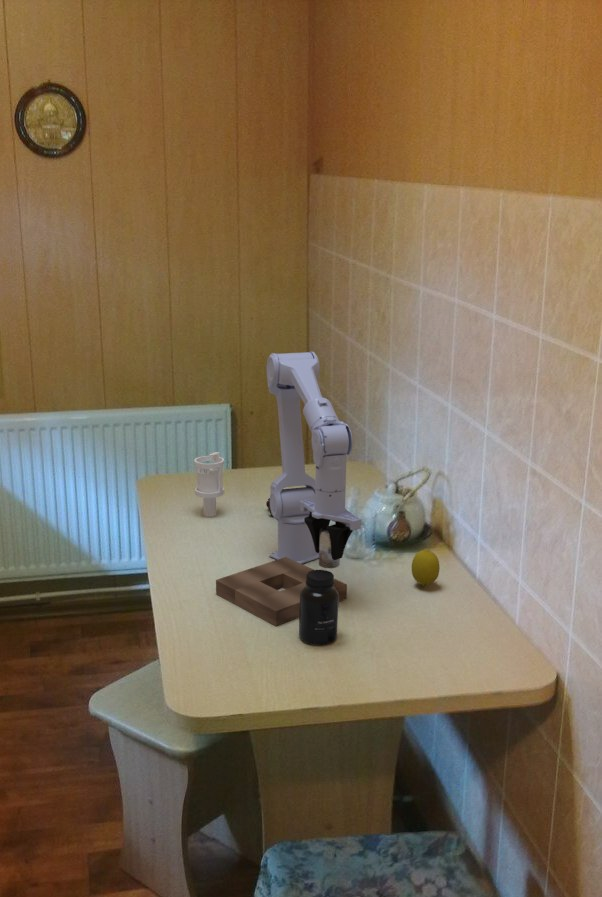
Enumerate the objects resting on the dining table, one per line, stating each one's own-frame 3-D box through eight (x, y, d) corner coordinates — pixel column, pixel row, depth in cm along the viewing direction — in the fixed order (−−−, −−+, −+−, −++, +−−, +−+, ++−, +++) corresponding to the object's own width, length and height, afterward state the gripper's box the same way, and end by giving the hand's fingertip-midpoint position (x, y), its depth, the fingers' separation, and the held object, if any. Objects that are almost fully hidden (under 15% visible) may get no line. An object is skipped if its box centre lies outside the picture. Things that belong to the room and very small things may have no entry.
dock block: (285, 570, 193) (285, 556, 192) (346, 598, 180) (347, 584, 179) (216, 594, 181) (215, 579, 181) (276, 626, 169) (276, 611, 168)
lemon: (441, 583, 188) (443, 546, 185) (433, 594, 183) (435, 556, 181) (415, 578, 190) (417, 542, 188) (406, 588, 185) (408, 551, 183)
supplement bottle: (324, 650, 160) (326, 586, 157) (291, 639, 164) (292, 576, 161) (344, 634, 166) (346, 572, 163) (311, 624, 169) (312, 563, 166)
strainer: (230, 513, 226) (229, 454, 222) (212, 521, 220) (211, 461, 216) (207, 507, 229) (206, 449, 225) (189, 516, 224) (188, 456, 219)
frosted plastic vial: (330, 558, 182) (331, 524, 180) (343, 565, 179) (344, 530, 177) (314, 563, 179) (315, 529, 177) (328, 570, 176) (328, 535, 174)
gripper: (288, 482, 177) (288, 549, 181) (342, 502, 167) (340, 571, 171) (315, 475, 182) (314, 540, 186) (369, 493, 172) (367, 562, 175)
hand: (328, 554), depth 178 cm, fingers closed on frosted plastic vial, 4 cm apart
